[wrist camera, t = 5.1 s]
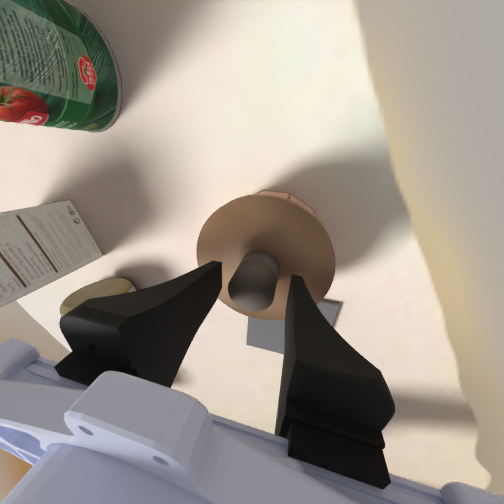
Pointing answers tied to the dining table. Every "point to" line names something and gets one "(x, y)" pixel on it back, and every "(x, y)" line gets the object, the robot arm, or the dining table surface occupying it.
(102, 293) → the ceramic mug
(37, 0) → the canned tomato
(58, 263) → the supplement box
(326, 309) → the charcoal mat
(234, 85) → the dining table surface
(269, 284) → the walnut lid
